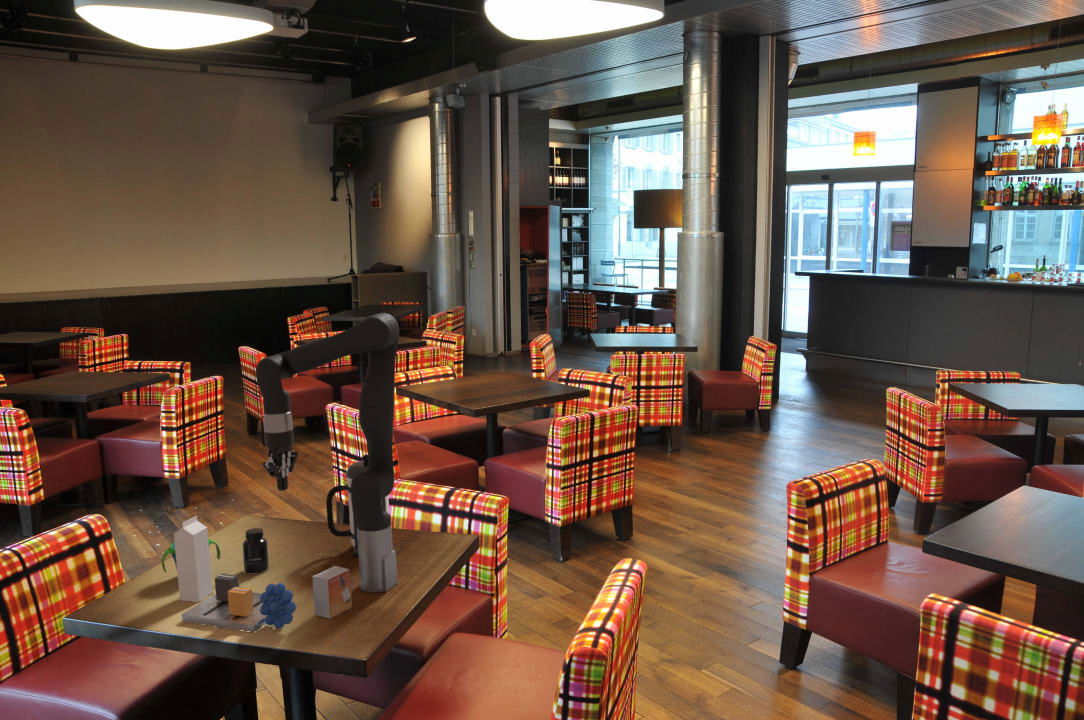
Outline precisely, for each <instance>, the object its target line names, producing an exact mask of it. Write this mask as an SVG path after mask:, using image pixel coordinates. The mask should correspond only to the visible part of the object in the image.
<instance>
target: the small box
mask: <svg viewBox="0 0 1084 720" xmlns="http://www.w3.org/2000/svg"><path fill="white" fill-rule="evenodd" d="M311 577H312V589H313V591H312V593H313V594H312V595H313V605H314V606H313V607H314V608H313V609H314V615H315V616H319V617H322V618H326V619H329V620H330V619H331V620H332V619H333V618H334V617H336V616H338V615H340V614H342V613H344V612H345V611H347V610H350V609H352V607H353V605H352V587H351V584H352V583H351V570H350V569H349V568H346V567H345V568H344V567H341V566H337V565H332V567H329V568H328V569H326V570H323V571H321V572H320V573H317V574H314V575H312V576H311Z"/></svg>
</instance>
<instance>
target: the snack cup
mask: <svg viewBox="0 0 1084 720" xmlns="http://www.w3.org/2000/svg"><path fill="white" fill-rule="evenodd" d="M208 543H209V547H210V545H212V544H214V545H215V550H216V559H217V560H218V561H219V560H220V559H221V549H220V546H219V545H218V543H217V542H216V541H215V540H213V539H210V538H208ZM169 554H171V556H172V559H173V561H174V564H175V569H176V570H177V562H176V552H175V541H174V542H173V543H171V544H170V546H169V547H168V549H166V550H165V551H164V552H163V554H162V557H161V567H162V569H163V572H164V573H167V570H166V566H165V559H166V557H167V556H168V555H169Z"/></svg>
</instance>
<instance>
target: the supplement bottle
mask: <svg viewBox="0 0 1084 720" xmlns="http://www.w3.org/2000/svg"><path fill="white" fill-rule="evenodd" d="M268 549H269V547H268V540H267V538H265V537H264V530H263V528H259V527H256V528H249V529H247V530H246V531H245V540H244V541H243V543H242V555H243V556H242V558H243V559H242V560H243V570H244V572H245V573H246V574H248V573H259V574H261V573H260V572H263V571H265V572H267V571H268V570H267V569H269V568H270V567H269V565H270V563H269V550H268ZM266 570H267V571H266ZM263 573H264V572H263Z"/></svg>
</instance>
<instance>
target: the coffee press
mask: <svg viewBox="0 0 1084 720" xmlns="http://www.w3.org/2000/svg"><path fill="white" fill-rule="evenodd" d="M368 456H369V454H368V453H367V454H363V456H362V460H359V461H356V462H353V463H352V464H350V465H349V466H348V467H347V469H346V471H345V477H346V481H347V483H346V484H340V485H339V484H338V485H336V486H333V487H332V488H330V490H329V491H328V493H327V496H326V504H325V505H326V521H327V527H328V531H329V532H330V533H331V534H332V535H334V536H335V537H340V538H341V537H342V538H343V537H345V538H346V537H350V543H351V546H352V547H353V551H352V556H354V557H359V554H358V537H357V523H356V521H355V519H354V516H353V510H352V501H351V482H352V479H353V477H354V476H355V475H356V474H358V473H360V472H362V471H364V470H366V469H367V466H368ZM342 491H344V492H345V491H346V492H347V496H348V510H349V512H348V514H349V529H346V530H339V529H337V528H336V527H335V523H334V511H333V508H334V507H333V498H334V496H335V494H336V493H339V492H342ZM381 502H382V510H383V511H385V512H387V513H389V514H390V505H389V503H390V501H389V495H388V496H386V497H385V498H383V499H381Z"/></svg>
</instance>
